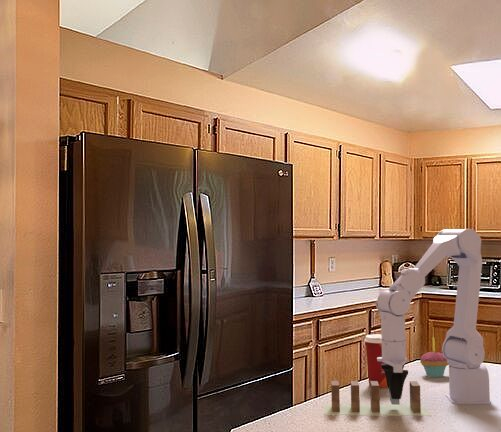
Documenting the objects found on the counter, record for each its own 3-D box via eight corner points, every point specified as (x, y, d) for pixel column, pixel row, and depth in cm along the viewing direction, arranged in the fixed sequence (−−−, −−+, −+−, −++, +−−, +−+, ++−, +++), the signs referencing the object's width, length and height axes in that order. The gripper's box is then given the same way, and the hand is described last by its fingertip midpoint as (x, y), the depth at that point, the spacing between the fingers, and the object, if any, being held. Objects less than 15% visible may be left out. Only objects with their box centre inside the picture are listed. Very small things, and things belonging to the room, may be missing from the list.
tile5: (339, 406, 152) (338, 380, 152) (339, 411, 147) (339, 385, 148) (331, 406, 152) (331, 380, 152) (332, 411, 148) (331, 385, 148)
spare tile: (397, 399, 150) (396, 373, 151) (399, 404, 146) (398, 377, 146) (389, 399, 151) (389, 373, 151) (391, 404, 146) (391, 377, 146)
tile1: (417, 407, 150) (416, 381, 150) (420, 412, 146) (420, 385, 146) (410, 407, 150) (409, 381, 150) (413, 412, 146) (412, 385, 146)
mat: (424, 406, 152) (424, 404, 152) (431, 417, 143) (431, 415, 143) (323, 405, 154) (323, 404, 154) (324, 415, 146) (324, 414, 146)
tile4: (358, 406, 151) (357, 381, 152) (359, 412, 147) (359, 385, 147) (351, 406, 152) (350, 380, 152) (352, 412, 147) (351, 385, 147)
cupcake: (418, 372, 188) (417, 333, 189) (447, 372, 187) (446, 333, 187) (422, 379, 180) (421, 338, 180) (452, 379, 179) (451, 338, 179)
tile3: (378, 407, 151) (377, 381, 151) (380, 412, 146) (379, 385, 147) (370, 407, 151) (370, 381, 151) (372, 412, 147) (371, 385, 147)
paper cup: (393, 389, 169) (392, 338, 169) (365, 388, 170) (363, 338, 171) (392, 382, 176) (391, 333, 177) (365, 381, 178) (364, 333, 178)
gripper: (373, 334, 156) (375, 388, 156) (380, 345, 142) (381, 404, 142) (401, 334, 156) (403, 388, 155) (410, 345, 141) (412, 404, 141)
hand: (394, 395), depth 148 cm, fingers closed on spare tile, 4 cm apart
